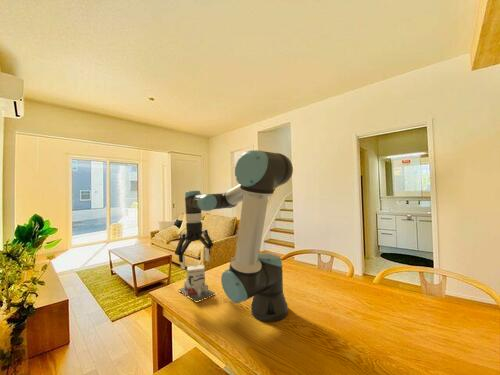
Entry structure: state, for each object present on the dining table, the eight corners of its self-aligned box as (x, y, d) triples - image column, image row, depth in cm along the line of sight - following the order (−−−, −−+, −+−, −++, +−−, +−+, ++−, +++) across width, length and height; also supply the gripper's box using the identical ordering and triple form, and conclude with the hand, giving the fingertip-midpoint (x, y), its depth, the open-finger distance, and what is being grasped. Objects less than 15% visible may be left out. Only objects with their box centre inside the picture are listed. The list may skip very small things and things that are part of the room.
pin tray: (214, 294, 104) (214, 284, 104) (196, 303, 97) (196, 292, 97) (196, 284, 116) (195, 275, 116) (178, 291, 109) (178, 281, 109)
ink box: (187, 294, 103) (186, 270, 103) (187, 290, 108) (186, 266, 108) (205, 291, 105) (204, 267, 105) (205, 287, 110) (204, 264, 110)
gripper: (210, 218, 118) (212, 257, 118) (166, 224, 100) (167, 270, 100) (218, 219, 113) (220, 259, 112) (173, 226, 95) (175, 274, 95)
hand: (195, 264), depth 106 cm, fingers open, 13 cm apart
